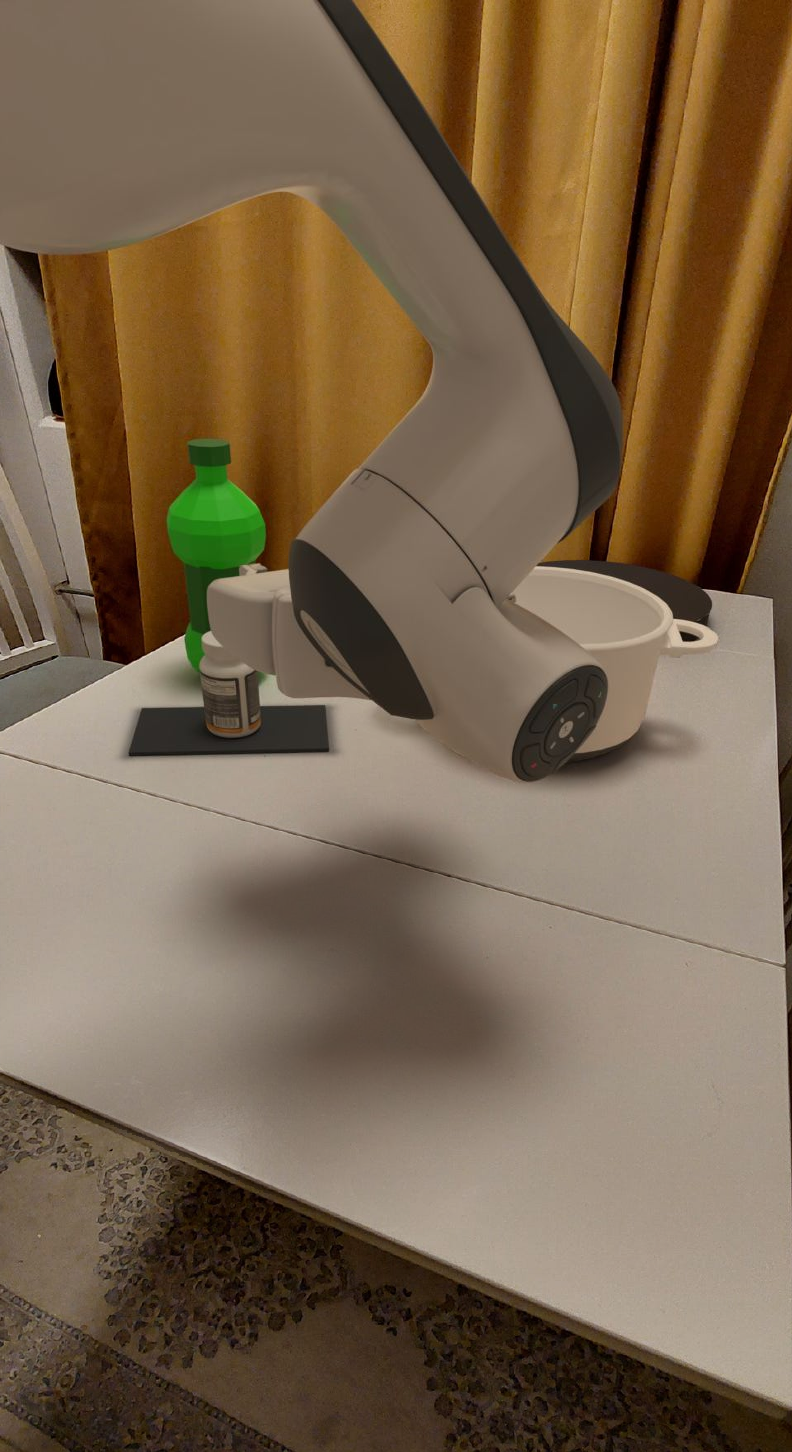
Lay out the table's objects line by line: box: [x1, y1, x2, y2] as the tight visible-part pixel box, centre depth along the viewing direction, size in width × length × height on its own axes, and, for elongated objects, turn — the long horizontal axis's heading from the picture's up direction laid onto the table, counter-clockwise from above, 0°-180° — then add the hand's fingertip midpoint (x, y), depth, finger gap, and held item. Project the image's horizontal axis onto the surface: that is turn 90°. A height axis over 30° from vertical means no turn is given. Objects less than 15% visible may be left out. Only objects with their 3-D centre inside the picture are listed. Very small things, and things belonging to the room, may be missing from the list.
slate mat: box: [128, 704, 330, 757], centre depth 88 cm, size 20×10×1 cm, turn 96°
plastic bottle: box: [165, 438, 267, 674], centre depth 92 cm, size 10×10×25 cm
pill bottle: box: [199, 631, 261, 738], centre depth 85 cm, size 6×6×10 cm
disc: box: [536, 559, 713, 642], centre depth 121 cm, size 30×30×3 cm
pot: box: [513, 566, 719, 763], centre depth 88 cm, size 33×23×14 cm
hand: (306, 566), depth 63 cm, fingers open, 8 cm apart
